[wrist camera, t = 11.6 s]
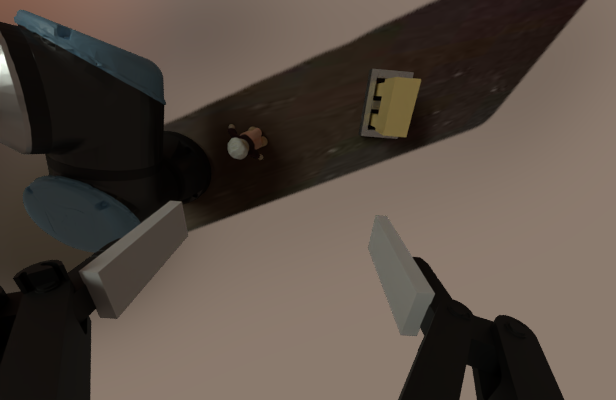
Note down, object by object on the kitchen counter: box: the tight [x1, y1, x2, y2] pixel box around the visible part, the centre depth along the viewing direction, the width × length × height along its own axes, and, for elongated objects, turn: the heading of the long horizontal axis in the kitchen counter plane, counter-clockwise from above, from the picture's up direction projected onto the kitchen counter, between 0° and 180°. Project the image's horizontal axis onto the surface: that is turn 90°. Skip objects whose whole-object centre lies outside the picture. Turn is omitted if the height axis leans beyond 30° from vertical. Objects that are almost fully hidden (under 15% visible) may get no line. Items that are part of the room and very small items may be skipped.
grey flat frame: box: [359, 69, 414, 139], centre depth 41 cm, size 7×11×2 cm, turn 176°
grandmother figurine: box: [228, 124, 268, 160], centre depth 39 cm, size 8×4×13 cm, turn 52°
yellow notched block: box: [369, 77, 421, 137], centre depth 38 cm, size 4×8×10 cm, turn 175°
